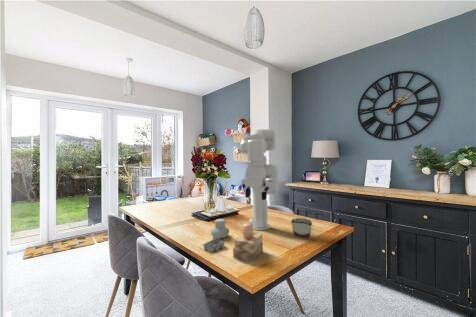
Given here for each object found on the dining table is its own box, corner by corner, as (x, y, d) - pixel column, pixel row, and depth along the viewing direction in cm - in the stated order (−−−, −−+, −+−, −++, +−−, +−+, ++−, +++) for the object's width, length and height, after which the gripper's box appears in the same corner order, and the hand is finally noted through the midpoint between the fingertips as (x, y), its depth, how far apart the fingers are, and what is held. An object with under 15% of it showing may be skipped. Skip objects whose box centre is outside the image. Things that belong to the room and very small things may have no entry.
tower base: (233, 258, 107) (233, 248, 107) (247, 248, 118) (247, 239, 118) (249, 262, 102) (249, 253, 102) (262, 252, 113) (262, 243, 113)
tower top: (234, 249, 106) (234, 240, 106) (246, 240, 118) (245, 231, 117) (252, 253, 102) (252, 243, 102) (262, 242, 114) (262, 233, 114)
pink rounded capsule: (241, 237, 109) (240, 225, 109) (246, 234, 113) (246, 222, 113) (249, 239, 106) (249, 227, 106) (255, 236, 110) (254, 224, 110)
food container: (314, 236, 132) (314, 219, 132) (312, 240, 127) (312, 222, 126) (294, 233, 138) (293, 217, 138) (290, 236, 133) (290, 219, 133)
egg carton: (218, 243, 125) (218, 236, 125) (226, 247, 119) (226, 240, 119) (201, 248, 118) (201, 240, 118) (209, 253, 112) (209, 245, 112)
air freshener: (220, 241, 127) (220, 223, 127) (209, 238, 131) (208, 221, 131) (231, 235, 136) (230, 218, 136) (219, 232, 141) (219, 216, 141)
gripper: (237, 164, 115) (237, 197, 115) (266, 165, 104) (266, 202, 105) (245, 163, 121) (246, 195, 121) (274, 164, 110) (274, 199, 111)
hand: (255, 198), depth 113 cm, fingers open, 9 cm apart
